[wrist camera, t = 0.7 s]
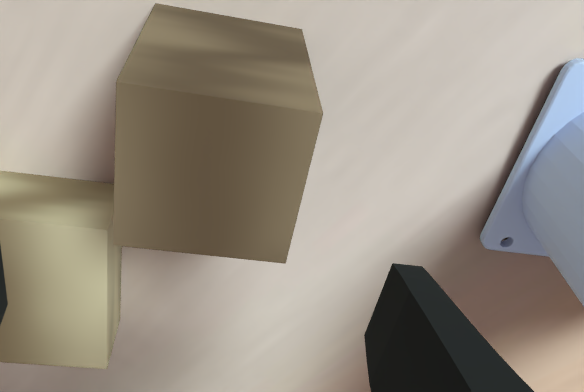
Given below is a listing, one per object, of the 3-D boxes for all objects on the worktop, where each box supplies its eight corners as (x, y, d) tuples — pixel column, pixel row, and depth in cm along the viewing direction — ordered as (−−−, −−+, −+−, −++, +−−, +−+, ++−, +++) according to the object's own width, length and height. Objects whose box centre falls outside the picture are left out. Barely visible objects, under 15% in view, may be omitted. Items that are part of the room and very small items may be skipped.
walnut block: (301, 29, 17) (323, 113, 12) (276, 152, 20) (285, 263, 15) (155, 2, 17) (116, 81, 12) (148, 134, 19) (112, 245, 14)
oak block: (124, 180, 20) (107, 229, 18) (121, 312, 24) (107, 369, 22) (-82, 155, 19) (-130, 204, 17) (-51, 298, 23) (-87, 356, 21)
